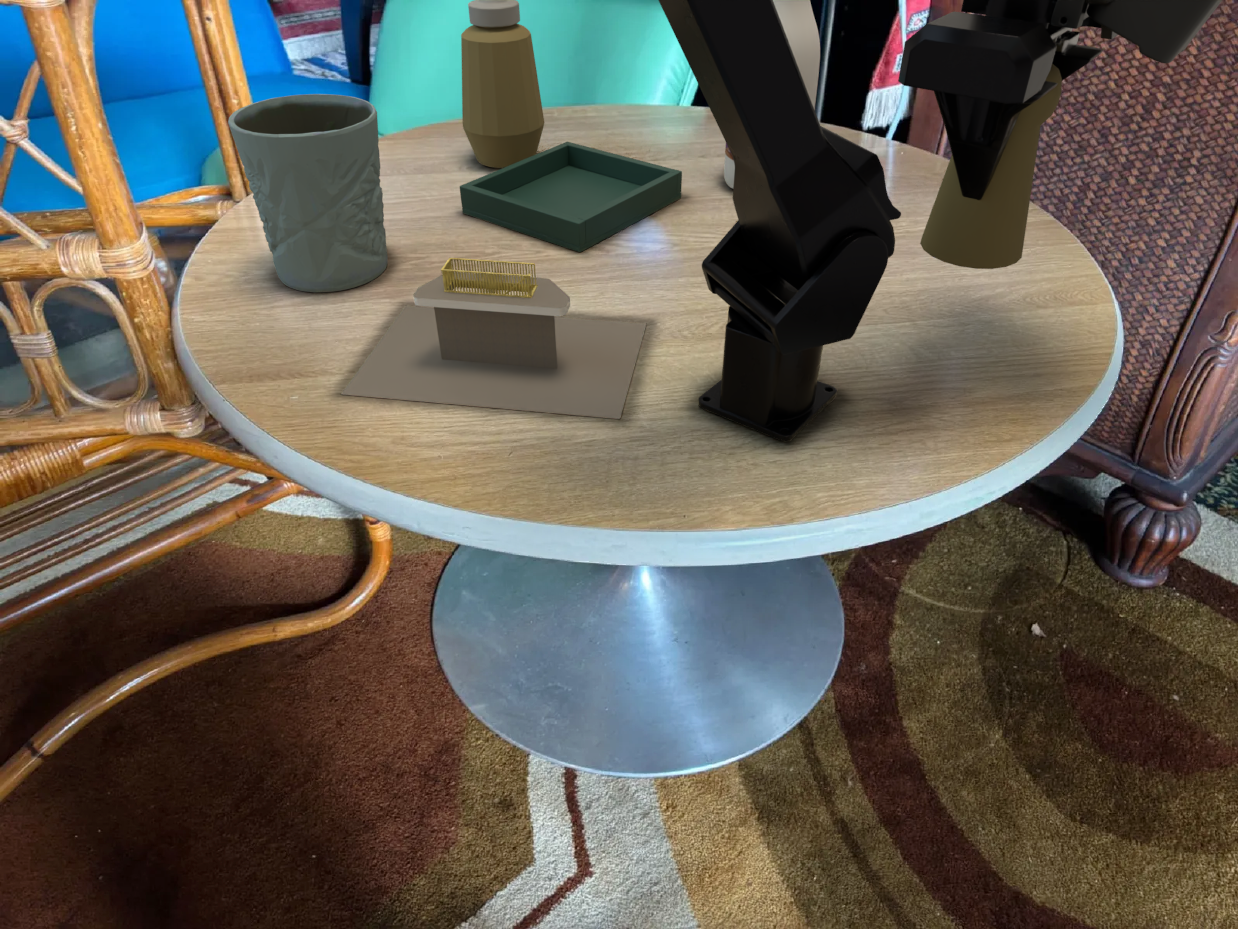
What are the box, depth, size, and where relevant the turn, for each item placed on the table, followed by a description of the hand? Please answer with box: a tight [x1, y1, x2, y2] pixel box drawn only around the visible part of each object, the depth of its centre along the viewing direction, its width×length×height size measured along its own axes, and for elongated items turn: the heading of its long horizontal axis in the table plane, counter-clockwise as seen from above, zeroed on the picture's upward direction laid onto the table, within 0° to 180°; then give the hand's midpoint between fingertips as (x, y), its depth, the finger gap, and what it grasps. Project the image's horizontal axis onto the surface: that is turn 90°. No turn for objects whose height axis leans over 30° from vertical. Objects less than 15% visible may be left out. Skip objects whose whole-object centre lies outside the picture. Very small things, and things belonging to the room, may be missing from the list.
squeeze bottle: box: [460, 0, 545, 169], centre depth 85 cm, size 8×8×18 cm
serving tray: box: [459, 141, 683, 253], centre depth 80 cm, size 15×14×2 cm
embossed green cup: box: [227, 93, 389, 293], centre depth 68 cm, size 10×10×12 cm
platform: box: [340, 257, 647, 420], centre depth 58 cm, size 12×18×7 cm, turn 81°
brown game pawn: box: [919, 64, 1063, 270], centre depth 52 cm, size 6×6×11 cm
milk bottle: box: [723, 0, 821, 189], centre depth 79 cm, size 8×8×20 cm
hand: (986, 186), depth 53 cm, fingers closed on brown game pawn, 4 cm apart
